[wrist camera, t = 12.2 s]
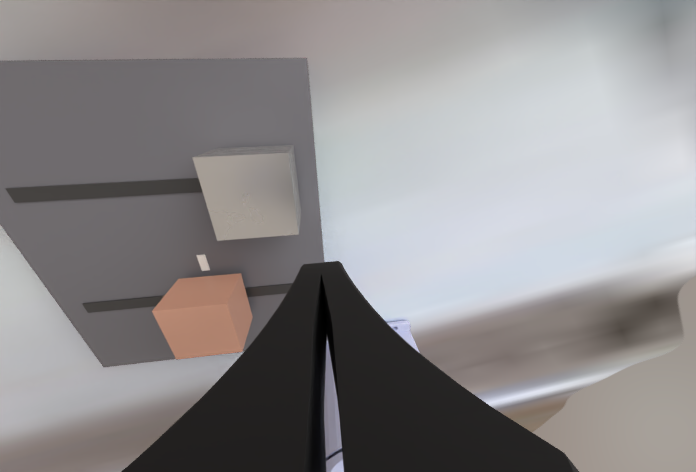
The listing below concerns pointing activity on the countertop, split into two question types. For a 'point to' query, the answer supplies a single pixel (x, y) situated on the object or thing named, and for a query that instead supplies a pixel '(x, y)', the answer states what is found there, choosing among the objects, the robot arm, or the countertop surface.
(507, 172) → the countertop surface
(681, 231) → the countertop surface
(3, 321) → the countertop surface
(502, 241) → the countertop surface
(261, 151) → the block
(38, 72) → the fader panel
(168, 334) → the block
